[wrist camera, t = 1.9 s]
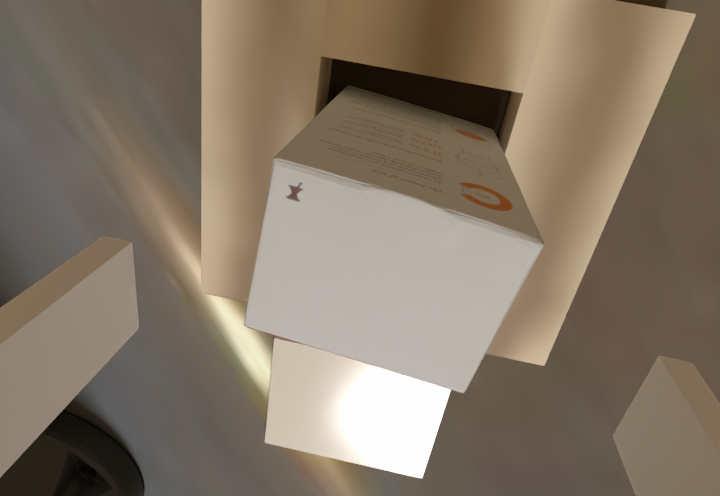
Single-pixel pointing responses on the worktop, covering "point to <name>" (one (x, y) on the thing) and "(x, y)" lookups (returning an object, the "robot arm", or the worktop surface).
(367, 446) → the ceramic tile
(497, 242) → the small box
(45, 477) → the robot arm
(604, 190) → the pocket block
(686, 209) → the worktop surface
